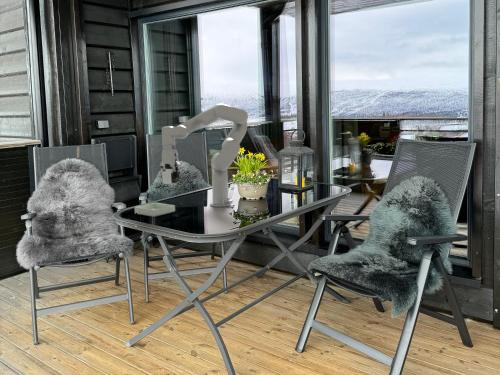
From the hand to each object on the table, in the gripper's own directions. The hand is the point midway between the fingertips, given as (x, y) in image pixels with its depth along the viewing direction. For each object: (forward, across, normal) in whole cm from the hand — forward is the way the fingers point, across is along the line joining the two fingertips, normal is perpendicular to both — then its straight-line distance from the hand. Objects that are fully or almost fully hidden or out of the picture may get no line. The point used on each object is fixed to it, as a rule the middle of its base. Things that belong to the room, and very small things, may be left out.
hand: (170, 177), depth 305 cm
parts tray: (+18, -1, +16) cm, 24 cm away
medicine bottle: (+4, 0, 0) cm, 4 cm away
